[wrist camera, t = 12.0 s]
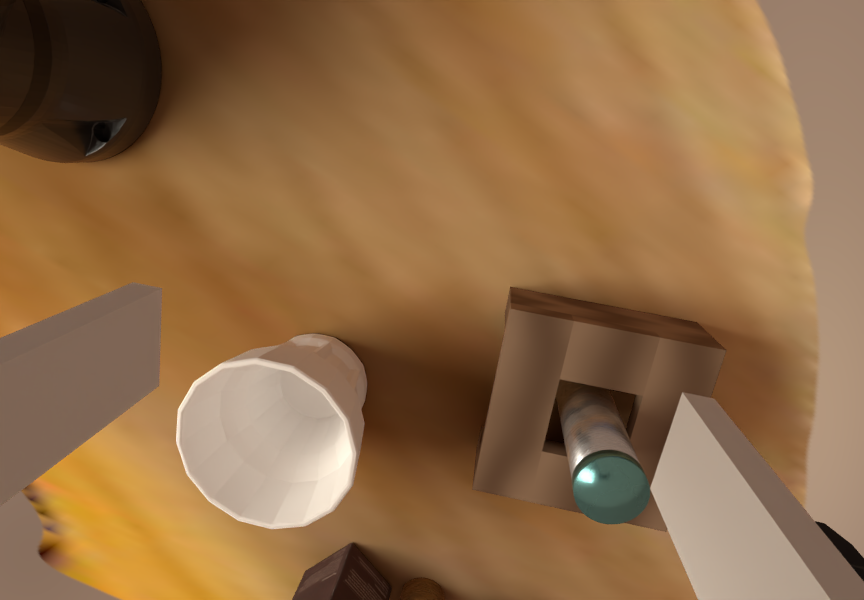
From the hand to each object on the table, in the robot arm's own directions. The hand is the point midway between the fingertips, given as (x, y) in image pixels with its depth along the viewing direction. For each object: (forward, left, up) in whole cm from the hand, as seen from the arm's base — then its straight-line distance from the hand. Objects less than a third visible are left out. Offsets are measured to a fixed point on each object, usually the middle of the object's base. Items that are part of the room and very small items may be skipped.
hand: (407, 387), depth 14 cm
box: (-5, -34, -30) cm, 46 cm away
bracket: (+11, -11, -30) cm, 33 cm away
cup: (-10, -15, -30) cm, 35 cm away
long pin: (+11, -11, -30) cm, 33 cm away
